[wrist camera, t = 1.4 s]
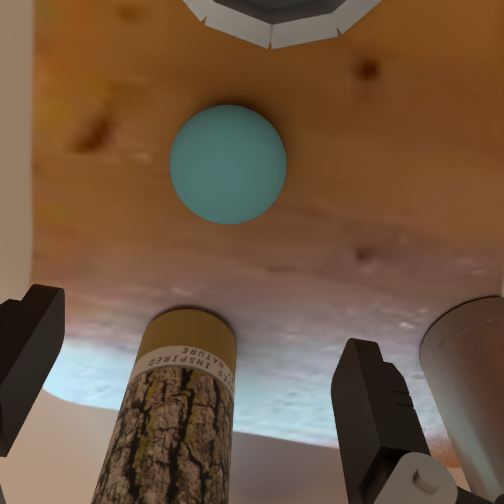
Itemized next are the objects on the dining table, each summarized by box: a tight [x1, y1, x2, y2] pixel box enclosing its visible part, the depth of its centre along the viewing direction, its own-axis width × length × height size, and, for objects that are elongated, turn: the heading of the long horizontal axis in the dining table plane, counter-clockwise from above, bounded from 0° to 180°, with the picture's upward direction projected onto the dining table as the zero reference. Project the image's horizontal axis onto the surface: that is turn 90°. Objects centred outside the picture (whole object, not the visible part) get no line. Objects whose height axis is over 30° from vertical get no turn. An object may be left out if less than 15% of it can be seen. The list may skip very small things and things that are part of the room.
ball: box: [169, 105, 287, 224], centre depth 25 cm, size 6×6×6 cm
